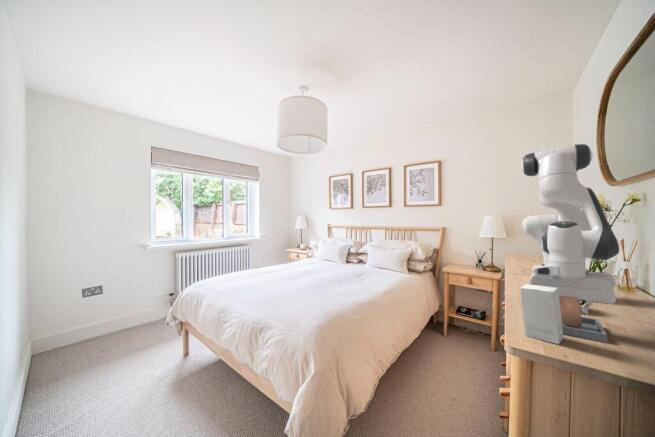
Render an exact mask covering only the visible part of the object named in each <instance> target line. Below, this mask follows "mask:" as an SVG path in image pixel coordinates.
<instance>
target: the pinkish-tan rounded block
mask: <svg viewBox="0 0 655 437" xmlns="http://www.w3.org/2000/svg"><path fill="white" fill-rule="evenodd" d="M559 301H560V310H561V318H562V323H563V324H566V325H571V326H582V319H581V317H582V313H581V307H582V305H580V303H581V300H578V298H572V297H563V296H561V297H559Z"/></svg>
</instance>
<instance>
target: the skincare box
mask: <svg viewBox="0 0 655 437" xmlns="http://www.w3.org/2000/svg"><path fill="white" fill-rule="evenodd" d="M519 290H520V291H519V292H520V300H521V308H522V311H521V312H522V318H523V330H524V336H525V337H530V338H533V339H537V340H541V341H545V342H548V343H552V344H555V345H559V344H560V343H561V342H562V340H563V339H564V334H563V328H562V318H561V310H560V301H559V292H558V288H555V287H547V286H538V285H530V284H529V283H525V284H524V285H523V286H521V287H519Z"/></svg>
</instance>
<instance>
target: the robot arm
mask: <svg viewBox="0 0 655 437" xmlns="http://www.w3.org/2000/svg"><path fill="white" fill-rule="evenodd" d="M592 160H593V152H592V149H591V148H590V146H589V145H587V144H583V143H579V144H578V143H577V144H574V145H565V146H558V147H553V148H549V149H544V150H540V151H537V152H531V153H528V154H525V155H524V156H523V157H522V160H521V162H520V168H521V171H522V172H523V174H524V175H525V176H527V177H536V176H537V179H538V186H537V187H538V198H539V200H538V201H539V203H540V204H541V205H542V206H544V207H546V208H550V209H554V210H556V211H557V213H548V214H545V213H544V214H543V213H542V214H535V215H530V216H529V215H528V216H526V217H525V218H523V219H522V222H521V229H522V231H523V232H524V233H525V234H526V235H528V236H529V237H531V238H532V239H533V240H535V241H536V242H537V244H538V245H539V247H540V249H541V253H542V258H543V259H542V260H543V264H536V265H534V266H532V268H531V269H532V273H531V275H530V277H529V283H528V284H530V285H538V286H547V287H555V288H558V292H559V297H561V296H563V297H572V298H578V300H580V301H582V300H585V304H584V305H583V306H581V315H582V314H583V315H589V309H590V308H591V307H592V306H593V302H595V303H605V304H614V303H616V302H617V298H616V292H615V290H614V287H615V286H616V284H617V283H616V277H615V276H614V275H612V274H610V273H608V272H602V271H601V272H599V271H598V272H597V271H587V268H586V267H587V265H586V260H585V259H591V260H600V261H607V260H610V259H612V258H614V257H615V256H617V255H619V253H620V243H619V240H618V238H617V237H616V235H615V233H614V231H613V229H612V228H611V225H610V223H609V221H608V219H607V217H606V215H605V212H604V210H603V208H602V205H601V204H600V201H599V199H598V197H597V195H596V193H595V191H593V189H592V188H590V187H586V186H584V185H583V184H582V183H581V182H580V181H579V178H578V173H577V172H578V171H580V170H583V169H586V168H587V167H589V166H590V165H591V162H592Z"/></svg>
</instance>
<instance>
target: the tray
mask: <svg viewBox="0 0 655 437" xmlns="http://www.w3.org/2000/svg"><path fill="white" fill-rule="evenodd" d="M581 319H582V326H571V325H566V324H563V323H562V328H563V336H569V337H575V338H580V339H586V340H590V341H594V342H600V343H606V344H608V342H609V341H608V334H607V332H606V331H605V329H604V327H603V325H602V323H601V322H600V320H599V319H598V318H591V317H584V316H581Z"/></svg>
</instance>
